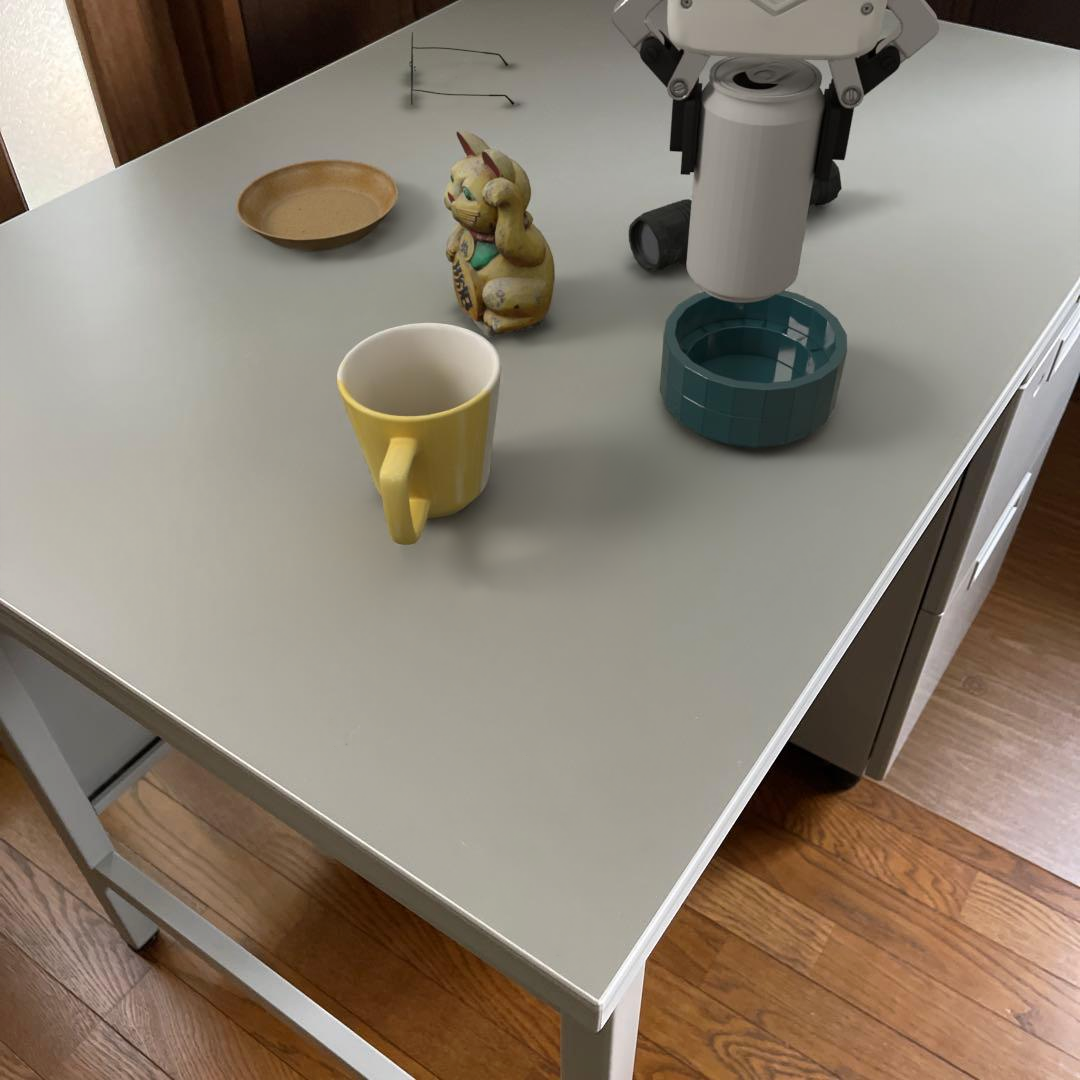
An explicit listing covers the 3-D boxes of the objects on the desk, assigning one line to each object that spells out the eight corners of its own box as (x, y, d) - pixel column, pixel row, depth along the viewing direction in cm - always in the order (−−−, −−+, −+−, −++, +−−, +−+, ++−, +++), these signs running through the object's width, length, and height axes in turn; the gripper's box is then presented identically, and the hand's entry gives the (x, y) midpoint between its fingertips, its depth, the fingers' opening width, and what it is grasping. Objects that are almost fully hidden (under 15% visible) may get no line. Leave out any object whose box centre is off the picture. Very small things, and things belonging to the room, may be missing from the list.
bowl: (832, 359, 86) (845, 292, 82) (833, 465, 77) (848, 397, 73) (668, 344, 88) (673, 278, 84) (651, 447, 79) (655, 379, 75)
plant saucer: (373, 271, 96) (369, 244, 95) (215, 256, 99) (209, 230, 97) (420, 190, 107) (417, 165, 105) (276, 178, 109) (271, 153, 107)
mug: (396, 430, 81) (379, 308, 73) (528, 459, 78) (523, 335, 71) (309, 558, 72) (279, 434, 64) (454, 595, 69) (441, 470, 62)
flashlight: (625, 258, 97) (627, 205, 94) (803, 194, 105) (811, 143, 101) (659, 283, 94) (662, 230, 91) (840, 215, 102) (849, 164, 98)
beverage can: (662, 279, 64) (675, 72, 56) (734, 239, 67) (757, 37, 59) (747, 323, 61) (775, 110, 53) (819, 279, 64) (856, 70, 56)
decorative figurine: (435, 301, 93) (418, 128, 82) (517, 271, 96) (511, 101, 85) (495, 357, 87) (485, 178, 77) (581, 323, 90) (583, 147, 80)
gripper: (589, -216, 45) (585, 191, 58) (1029, -212, 43) (926, 210, 56) (609, -252, 51) (602, 128, 63) (1003, -250, 48) (914, 144, 61)
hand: (754, 164), depth 59 cm, fingers closed on beverage can, 6 cm apart
